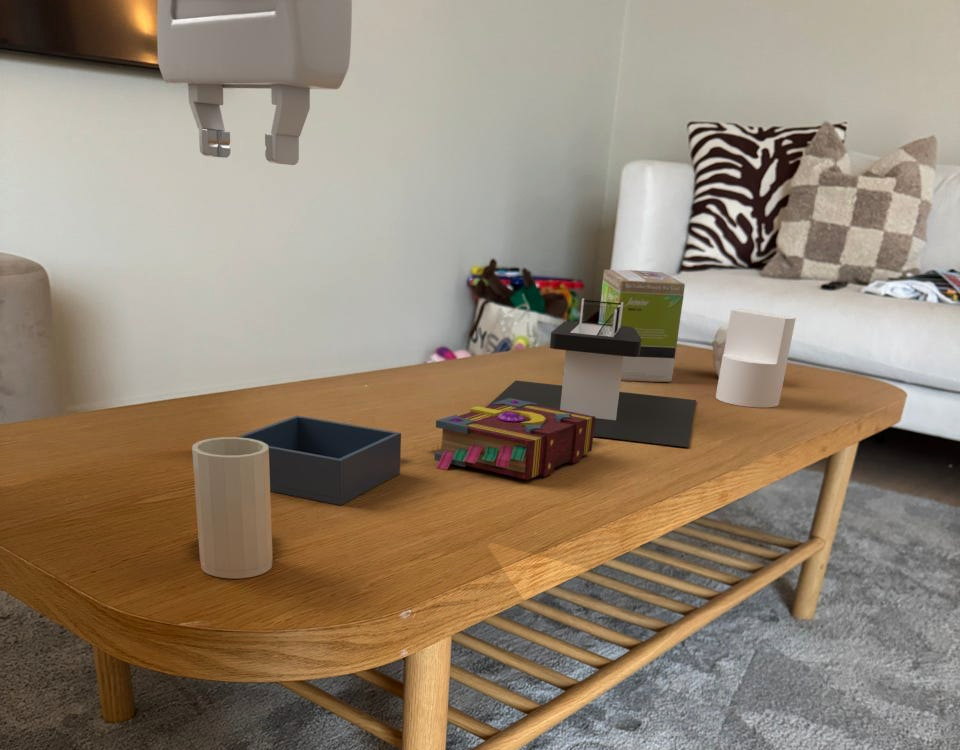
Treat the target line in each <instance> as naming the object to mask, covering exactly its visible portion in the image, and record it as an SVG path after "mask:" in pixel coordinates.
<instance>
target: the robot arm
mask: <svg viewBox="0 0 960 750" xmlns="http://www.w3.org/2000/svg"><path fill="white" fill-rule="evenodd" d="M156 14H157V17H156V19H157V21H156V22H157V28H156V30H157V31H156V32H157V38H156V39H157V40H156V41H157V63H158V67H159V70H160V74H161V76H162V78H163V80H164V81H165V83H167V84H169V85H176V86H182V87H187V91H188V103H189V104H188V105H189V106H190V110H191V112H192V116H193V118H194V121H195V124H196V127H197V129H198V142H199V151H200V153H201V154H202V156H204V157H212V158H223V159H224V158H226V159H227V158H229V156H230V155H231V145H230V144H231V132H230V131H225V129H226V128H225V125H224V120H223V115H222V110H221V106H223V105H224V89H255V90H256V89H257V90H259V89H261V90H263V89H265V90H267V89H268V90H270V91H271V95H270V96H271V97H270V99H271V105H274V106H275V111H274V114H273V115H274V116H273V120H272V126H271V131H270V133H265V134H264V145H265V152H264V153H265V154H264V156H265V159H266V160H267V162H268V163H271V164H276V165H289V166H295V165H297V164H298V162H299V160H300V137H301V135H302V133H303V129H304V126H305V123H306V120H307V118H308V115H309V112H310V109H311V104H310V103H311V102H310V100H311V95H310V94H311V90H339V89H340V88H341V86H342V85H343V82H344V80H345V78H346V75H347V73H348V71H349V67H350V61H351V49H352V48H351V47H352V45H351V44H352V24H353V23H352V22H353V21H352V20H353V19H352V18H353V0H157V13H156Z"/></svg>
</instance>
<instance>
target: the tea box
mask: <svg viewBox="0 0 960 750" xmlns="http://www.w3.org/2000/svg"><path fill="white" fill-rule="evenodd" d="M685 285H686V283H684V282H683V281H680V280H678V279H676V278H674V277H671V276H670V275H668V274H666V273H664V272H661V271H650V270H637V269H636V270H633V269H604V270H603V275H602V285H601V294H600V295H601V297H600V301H601V302H612V303H621V302H623V309H622V317H621V326H628V327H633V328H634V329H635V330H636V331H637V333H638V334H639V336H640V337H641V339H642V341H641V349H640V355H639V357H627V356H624V359H623V367H622V375H621V381H626V382H628V381H629V382H651V383H655V382H656V383H671V382H672V379H673V375H674V368H675V362H676V361H675V359H676V352H677V347H678V337H679V331H680V324H681V316H682V311H683V310H682V309H683V303H684V295H685V287H686V286H685ZM619 305H621V304H619ZM619 305H618V304H617V307H619ZM605 306H606V307H605V310H604V311H603V308H604V303H602V305H601V303H599V308H600V307H602V310H600V309H599V311H600V314H599V315H598V317H599V316H601V319H599V318H598V320H599V321H601V320H602V317H603V316H604V319H603V320H602V321H604V320H605V317H606V316H607V313H608V312H609V309H610V308H611V307H612V308H611V311H610V312H609V315H608V316H607V319H606V320H605V322H606V321H607V320H608V317H611V316H610V313H612V314H613V313H614V312H615V310H616V309H617V308H614V307H616V305H615V304H614V307H613V304H611V307H610V304H609V303H608V307H607V303H605ZM606 308H608V311H606ZM612 309H614V312H612ZM602 311H603V314H602V315H601V312H602ZM604 312H606V315H604ZM612 317H613V316H612ZM610 319H611V318H610ZM613 319H614V318H613ZM599 321H598V324H602V322H600V323H599ZM605 322H603V324H605ZM608 322H610V321H609V320H608ZM612 322H613V320H612ZM606 324H608V323H606ZM610 325H611V323H610Z"/></svg>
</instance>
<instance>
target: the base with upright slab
mask: <svg viewBox="0 0 960 750" xmlns="http://www.w3.org/2000/svg"><path fill="white" fill-rule="evenodd" d="M796 319H797V318H796V317H794V316H787V315H783V314H781V315H780V314H775V313H769V312H762V311H755V310H750V309H744V308H737V309H736V308H735V309H731V310H730V314H729V320H728V321H729V325H728V331H727V337H726V343H725V349H724V354H723V357H722V362H721V368H720V374H719V377H718V381H717V386H716V391H715V398H716V399H717V400H718V401H720V402H722V403H725V404H730V405H734V406H739V407H747V408H748V407H749V408H760V409H761V408H763V409H764V408H774V407H778V406H779V404H780V400H781V397H782V391H783V385H784V380H785V376H786V371H787V366H788V359H789V353H790V349H791V345H792V339H793V334H794V329H795V324H796Z"/></svg>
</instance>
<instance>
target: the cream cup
mask: <svg viewBox="0 0 960 750" xmlns="http://www.w3.org/2000/svg"><path fill="white" fill-rule="evenodd" d="M191 446H192V447H191V451H192V466H193V467H192V468H193V480H194V495H195V509H196V522H197V524H196V525H197V537H198V538H197V540H198V551H199V562H200V568H201V570H202V571H203V573H205V574H207V575H209V576H213V577H216V578H219V579H220V578H221V579H230V580H231V579H233V580H234V579H235V580H238V579H239V580H240V579H248V578H253V577H254V578H255V577H257V576H261V575H263V574H266V573H268V572H269V571H270V570H271V569H272V568H273V565H274V564H273V534H272V533H273V531H272V529H273V528H272V503H271V502H272V500H271V499H272V498H271V491H270V470H269V447H268V445H267V444H265V443H264V442H262V441H258V440H254V439H249V438H240V437H237V436H235V437H234V436H232V437H231V436H224V437H223V436H222V437H213V438H206V439H202V440H199V441H197V442H195V443H193V444H192V445H191Z"/></svg>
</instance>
